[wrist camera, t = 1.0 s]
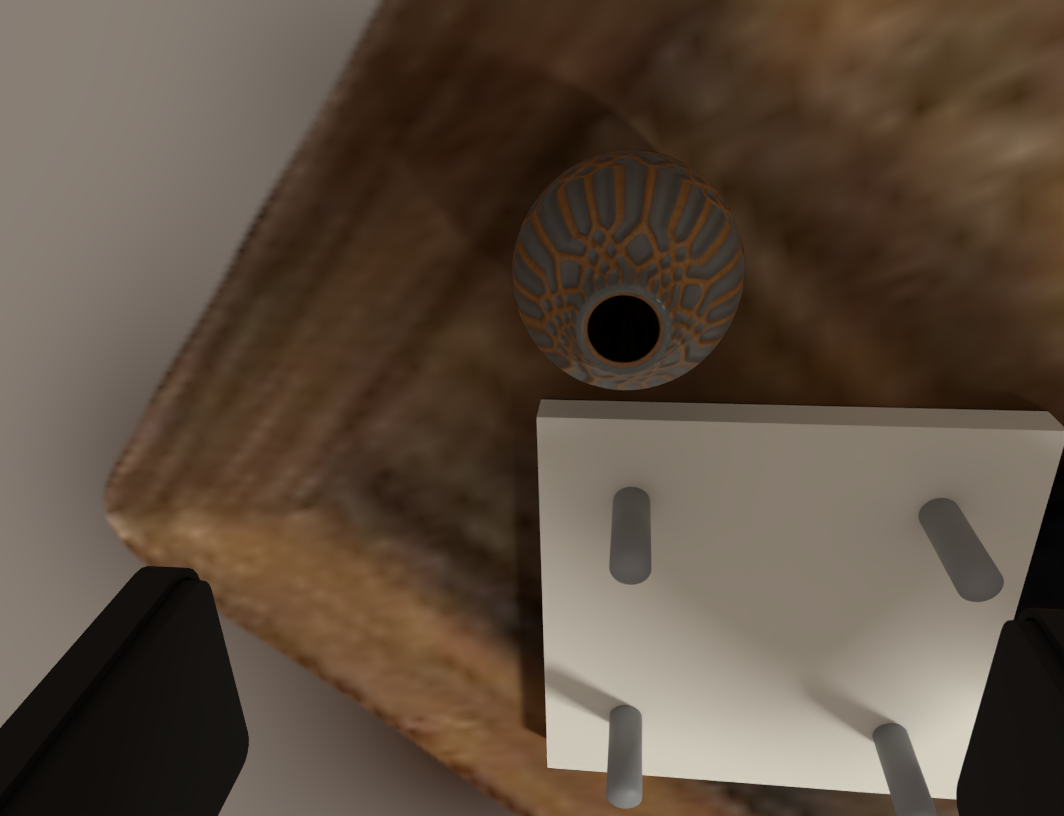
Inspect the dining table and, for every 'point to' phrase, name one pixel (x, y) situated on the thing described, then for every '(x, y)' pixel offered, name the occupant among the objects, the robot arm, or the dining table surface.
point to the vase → (628, 270)
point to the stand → (780, 588)
